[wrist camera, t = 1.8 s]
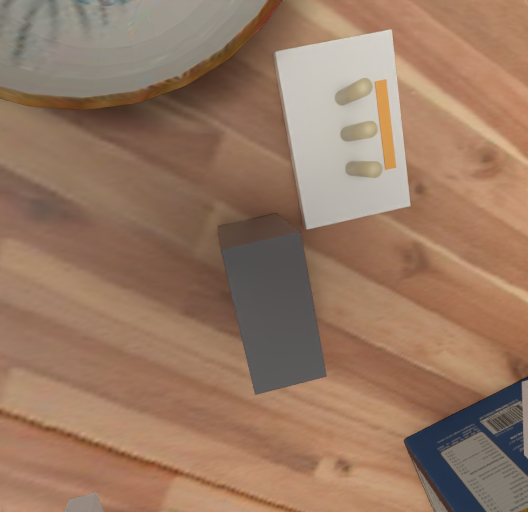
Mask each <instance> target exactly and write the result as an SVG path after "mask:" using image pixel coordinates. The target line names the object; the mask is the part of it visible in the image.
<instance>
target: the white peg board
mask: <svg viewBox="0 0 528 512" xmlns="http://www.w3.org/2000/svg"><path fill="white" fill-rule="evenodd" d="M273 60H274V66H275V71H276V77H277V83H278V88H279V94H280V99H281V105H282V110H283V116H284V122H285V127H286V133H287V138H288V144H289V150H290V155H291V161H292V166H293V172H294V177H295V183H296V189H297V194H298V200H299V205H300V211H301V217H302V222H303V228H305V229H306V230H308V229H312V228H316V227H321V226H325V225H330V224H334V223H338V222H343V221H347V220H352V219H356V218H360V217H365V216H369V215H374V214H378V213H382V212H387V211H391V210H396V209H400V208H404V207H409V206H410V197H409V187H408V178H407V168H406V159H405V150H404V140H403V131H402V122H401V112H400V103H399V94H398V84H397V75H396V66H395V56H394V47H393V37H392V29H391V30H386V31H380V32H375V33H370V34H364V35H359V36H354V37H349V38H343V39H338V40H333V41H327V42H322V43H317V44H311V45H306V46H301V47H296V48H290V49H285V50H280V51H275V52H274V54H273Z"/></svg>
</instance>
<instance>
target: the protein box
mask: <svg viewBox="0 0 528 512" xmlns="http://www.w3.org/2000/svg"><path fill="white" fill-rule="evenodd" d="M527 380H528V377H527V378H525V379H523V380H521V381H519V382H517V383H515V384H514V385H512V386H510V387H508V388H506V389H503V390H502V391H500V392H498V393H496V394H494V395H492V396H490V397H488V398H486V399H484V400H482V401H479V402H478V403H476V404H474V405H472V406H470V407H468V408H466V409H464V410H462V411H460V412H458V413H456V414H454V415H452V416H450V417H448V418H446V419H444V420H442V421H440V422H438V423H436V424H434V425H432V426H430V427H428V428H426V429H424V430H422V431H420V432H418V433H416V434H414V435H412V436H410V437H408V438H406V439H405V441H404V442H405V445H406V448H407V450H408V452H409V454H410V457H411V459H412V461H413V464H414V466H415V468H416V471H417V473H418V475H419V478H420V480H421V482H422V485H423V487H424V489H425V491H426V494H427V496H428V498H429V501H430V503H431V505H432V508H433V510H434V512H528V458H527V457H526V456H525V455H524V436H523V403H522V382H523V381H527Z"/></svg>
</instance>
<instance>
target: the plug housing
mask: <svg viewBox="0 0 528 512" xmlns="http://www.w3.org/2000/svg"><path fill="white" fill-rule="evenodd" d="M218 232H219V239H220V247H221V253H222V257H223V261H224V265H225V269H226V274H227V278H228V282H229V286H230V290H231V295H232V299H233V303H234V307H235V312H236V316H237V320H238V324H239V328H240V333H241V337H242V341H243V345H244V350H245V354H246V358H247V362H248V366H249V371H250V375H251V379H252V383H253V388H254V392H255V395H257V394H261V393H265V392H268V391H272V390H276V389H280V388H284V387H288V386H291V385H295V384H299V383H303V382H307V381H311V380H315V379H318V378H322V377H326V376H327V375H326V370H325V364H324V359H323V353H322V348H321V342H320V337H319V331H318V326H317V320H316V315H315V309H314V304H313V298H312V293H311V287H310V282H309V276H308V271H307V265H306V260H305V254H304V249H303V243H302V238H301V232H300V231H299V230H298V229H296V228H295V227H294V226H292V225H291V224H290V223H288V222H287V221H286V220H285V219H283V218H282V217H281V216H279V215H278V214H277V213H275V214H271V215H266V216H262V217H257V218H253V219H248V220H244V221H239V222H235V223H230V224H226V225H221V226H218Z"/></svg>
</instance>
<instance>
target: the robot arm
mask: <svg viewBox="0 0 528 512" xmlns="http://www.w3.org/2000/svg"><path fill="white" fill-rule="evenodd" d="M522 403H523V436H524V455H525V456H526V457H527V458H528V380H527V381H523V382H522ZM64 512H104V511H103V508H102V505H101V503H100V500H99V497H98V494H97V492H96V493H92V494H88V495H85V496H81V497H77V498H73V499H69V502H68V504H67V507H66V509H65V511H64Z"/></svg>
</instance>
